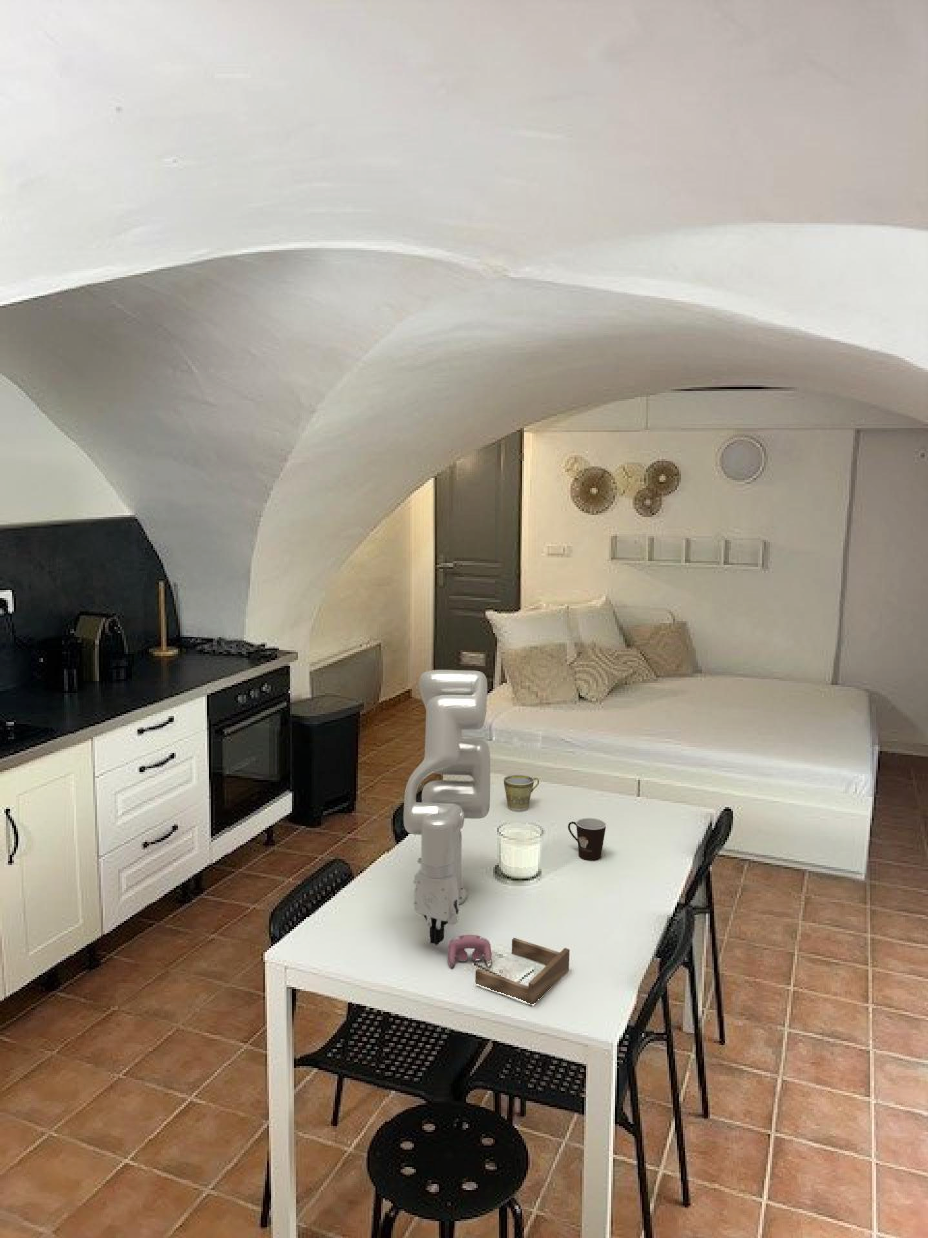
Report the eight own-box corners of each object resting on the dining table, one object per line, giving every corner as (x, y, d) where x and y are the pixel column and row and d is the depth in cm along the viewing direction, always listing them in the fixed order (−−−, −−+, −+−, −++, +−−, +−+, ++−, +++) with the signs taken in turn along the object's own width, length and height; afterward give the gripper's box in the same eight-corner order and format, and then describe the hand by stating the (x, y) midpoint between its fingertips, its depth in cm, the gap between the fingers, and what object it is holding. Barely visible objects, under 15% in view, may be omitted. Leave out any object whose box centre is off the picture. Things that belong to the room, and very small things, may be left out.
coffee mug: (610, 860, 264) (611, 827, 262) (584, 864, 260) (585, 831, 259) (590, 844, 274) (591, 813, 273) (564, 848, 271) (565, 816, 269)
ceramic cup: (513, 815, 296) (513, 786, 295) (497, 805, 305) (498, 777, 303) (546, 809, 302) (547, 780, 301) (530, 799, 311) (530, 771, 309)
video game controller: (491, 966, 210) (490, 934, 212) (492, 968, 205) (491, 935, 207) (447, 967, 209) (447, 934, 211) (448, 968, 205) (448, 935, 207)
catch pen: (475, 985, 199) (475, 964, 198) (513, 951, 213) (514, 931, 212) (532, 1006, 191) (533, 984, 190) (568, 970, 205) (569, 949, 205)
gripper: (401, 865, 212) (401, 939, 215) (455, 882, 204) (454, 958, 207) (420, 854, 218) (420, 926, 221) (473, 870, 210) (472, 944, 213)
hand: (436, 941), depth 214 cm, fingers closed
